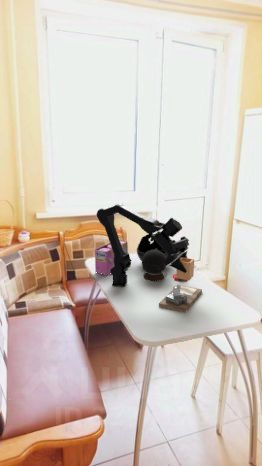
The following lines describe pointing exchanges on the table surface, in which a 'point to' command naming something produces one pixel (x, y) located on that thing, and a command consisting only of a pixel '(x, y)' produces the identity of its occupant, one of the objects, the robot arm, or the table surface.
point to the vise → (176, 297)
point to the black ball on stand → (153, 265)
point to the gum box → (106, 258)
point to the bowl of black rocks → (148, 246)
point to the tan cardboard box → (189, 268)
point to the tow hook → (178, 278)
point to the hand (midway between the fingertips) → (188, 270)
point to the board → (191, 297)
